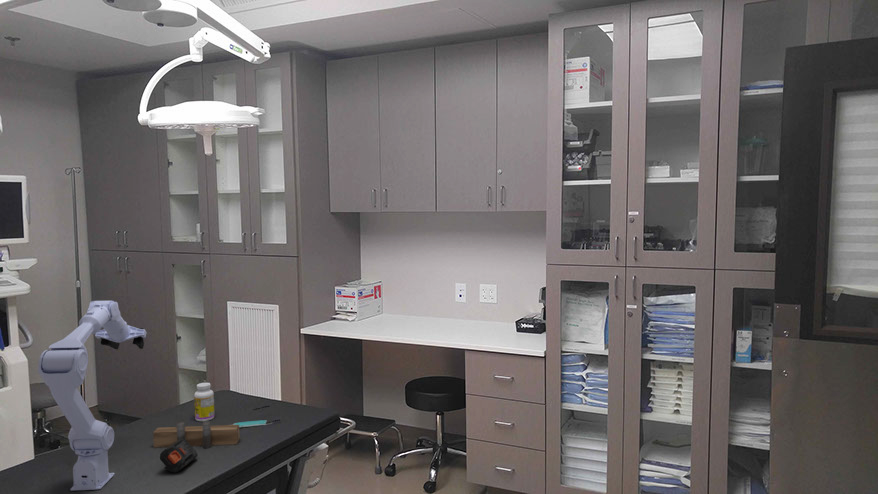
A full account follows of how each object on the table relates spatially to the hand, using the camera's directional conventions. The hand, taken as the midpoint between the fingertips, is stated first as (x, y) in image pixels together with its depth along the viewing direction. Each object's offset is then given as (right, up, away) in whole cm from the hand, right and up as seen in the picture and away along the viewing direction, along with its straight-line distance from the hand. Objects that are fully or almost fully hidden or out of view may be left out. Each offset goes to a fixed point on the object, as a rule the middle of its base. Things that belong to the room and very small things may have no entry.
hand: (130, 346), depth 198 cm
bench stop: (+21, -32, +1) cm, 38 cm away
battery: (+23, -34, -15) cm, 43 cm away
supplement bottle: (+15, -31, +24) cm, 42 cm away
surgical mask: (+34, -31, +18) cm, 49 cm away
